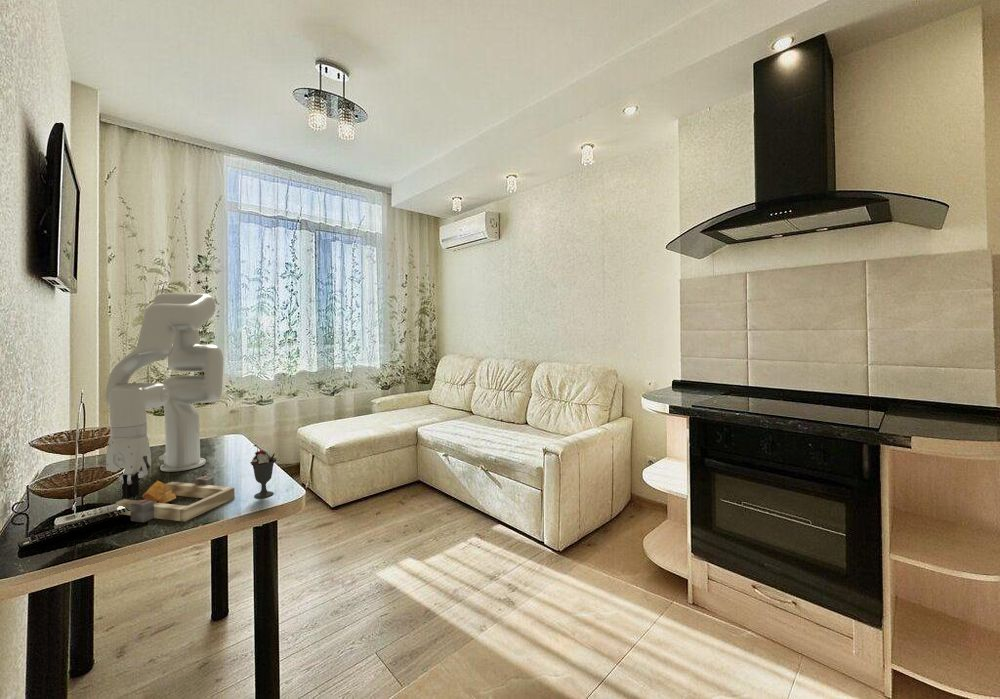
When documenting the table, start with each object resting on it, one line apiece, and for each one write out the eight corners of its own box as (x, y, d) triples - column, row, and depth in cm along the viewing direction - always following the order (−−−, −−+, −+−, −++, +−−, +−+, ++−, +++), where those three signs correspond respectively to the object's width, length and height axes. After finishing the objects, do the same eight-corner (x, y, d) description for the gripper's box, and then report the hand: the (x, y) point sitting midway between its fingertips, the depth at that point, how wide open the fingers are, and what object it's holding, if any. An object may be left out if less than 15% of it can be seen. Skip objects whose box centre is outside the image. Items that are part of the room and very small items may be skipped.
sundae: (245, 496, 120) (244, 444, 119) (269, 489, 125) (268, 439, 125) (257, 501, 116) (256, 448, 115) (281, 494, 122) (280, 443, 121)
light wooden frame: (105, 517, 105) (104, 500, 105) (180, 488, 125) (179, 473, 125) (175, 526, 101) (175, 507, 101) (241, 494, 121) (241, 479, 121)
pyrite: (174, 497, 119) (163, 510, 116) (152, 484, 116) (140, 496, 113) (181, 492, 117) (170, 505, 113) (159, 478, 114) (147, 491, 111)
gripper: (92, 433, 113) (94, 499, 114) (136, 436, 110) (138, 504, 111) (122, 427, 120) (124, 489, 121) (164, 429, 118) (166, 493, 118)
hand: (131, 496), depth 116 cm, fingers closed
